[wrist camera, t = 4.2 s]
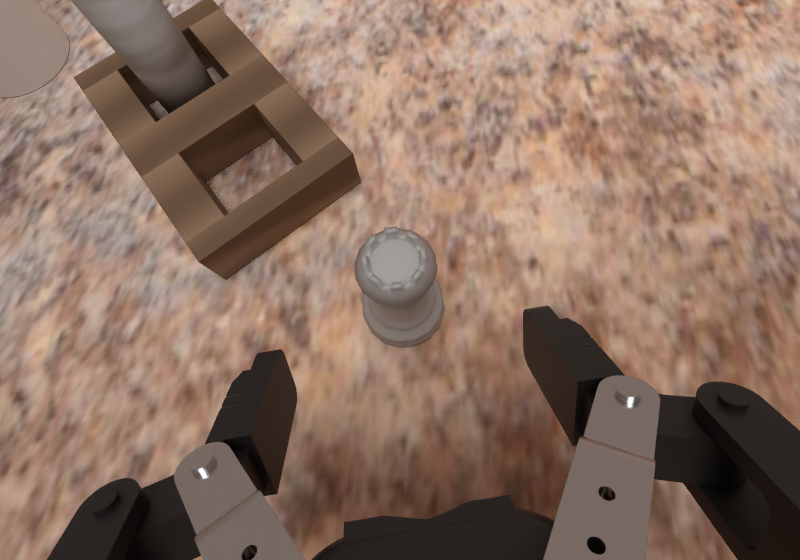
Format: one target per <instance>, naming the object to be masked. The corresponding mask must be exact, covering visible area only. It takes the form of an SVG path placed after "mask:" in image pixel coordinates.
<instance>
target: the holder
mask: <svg viewBox="0 0 800 560" xmlns="http://www.w3.org/2000/svg"><path fill="white" fill-rule="evenodd" d="M71 1H72V2H73V3H74V4H75V6H76V7H77V8H78V9H79V10H80V11H81V12H82V14H83V15H84V16H85V17H86V18H87V19H88V21H89V22H90V23H91V24H92V25H93V26H94V27H95V29H96V30H97V31H98V32H99V33H100V34H101V36H102V37H103V38H104V39H105V40H106V41H107V42H108V44H109V45H110V46H111V47H112V48H113V49H114V51H115V52H116V53H114V54H112V55H110V56H109V57H107V58H105V59H104V60H102V61H100V62H99V63H97V64H95V65H94V66H92V67H90V68H89V69H87V70H85V71H83V72H82V73H80V74H78V75H77V76H75V77H74V79H75V80H76V82H77V83H78V85H79V86H80V88H81V89H82V90H83V92H84V93H85V95H86V96H87V98H88V99H89V101H90V102H91V104H92V105H93V107H94V108H95V110H96V111H97V113H98V114H99V116H100V117H101V119H102V120H103V121H104V123H105V124H106V126H107V127H108V129H109V130H110V132H111V133H112V135H113V136H114V138H115V139H116V141H117V142H118V144H119V145H120V147H121V148H122V150H123V151H124V152H125V154H126V155H127V157H128V158H129V160H130V161H131V163H132V164H133V166H134V167H135V169H136V170H137V172H138V173H139V175H140V176H141V178H142V179H143V181H144V182H145V183H146V185H147V186H148V188H149V189H150V191H151V192H152V194H153V195H154V197H155V198H156V200H157V201H158V203H159V204H160V206H161V207H162V209H163V210H164V212H165V213H166V214H167V216H168V217H169V219H170V220H171V222H172V223H173V225H174V226H175V228H176V229H177V231H178V232H179V234H180V235H181V237H182V238H183V240H184V241H185V243H186V244H187V245H188V247H189V248H190V250H191V251H192V253H193V254H194V256H195V257H196V259H197V260H198V262H199V263H201V264H203V265H204V266H206V267H207V268H209V269H210V270H212V271H213V272H215V273H217V274H218V275H220V276H221V277H223V278H224V279H228V278H229V277H230V276H232V275H233V274H234V273H236V272H237V271H239V270H240V269H241V268H243V267H244V266H246V265H247V264H248V263H250V262H251V261H252V260H254V259H255V258H257V257H258V256H259V255H261V254H262V253H264V252H265V251H266V250H268V249H269V248H270V247H272V246H273V245H275V244H276V243H277V242H279V241H280V240H282V239H283V238H284V237H286V236H287V235H288V234H290V233H291V232H293V231H294V230H295V229H297V228H298V227H300V226H301V225H302V224H304V223H305V222H307V221H308V220H309V219H311V218H312V217H313V216H315V215H316V214H318V213H319V212H320V211H322V210H323V209H325V208H326V207H327V206H329V205H330V204H331V203H333V202H334V201H336V200H337V199H338V198H340V197H341V196H343V195H344V194H345V193H347V192H348V191H349V190H351V189H352V188H354V187H355V186H356V185H358V184H359V183H361V181H360V177H359V174H358V170H357V166H356V163H355V159H354V156H353V153H352V152H351V151H350V150H349V148H348V147H347V146H346V145H345V144H344V143H343V142H342V141H341V140H340V139H339V138H338V136H337V135H336V134H335V133H334V132H333V131H332V130H331V129H330V128H329V127H328V126H327V124H326V123H325V122H324V121H323V120H322V119H321V118H320V117H319V116H318V115H317V114H316V112H315V111H314V110H313V109H312V108H311V107H310V106H309V105H308V104H307V103H306V101H305V100H304V99H303V98H302V97H301V96H300V95H299V94H298V93H297V92H296V91H295V89H294V88H293V87H292V86H291V85H290V84H289V83H288V82H287V81H286V80H285V79H284V77H283V76H282V75H281V74H280V73H279V72H278V71H277V70H276V69H275V68H274V67H273V65H272V64H271V63H270V62H269V61H268V60H267V59H266V58H265V57H264V56H263V54H262V53H261V52H260V51H259V50H258V49H257V48H256V47H255V46H254V45H253V44H252V42H251V41H250V40H249V39H248V38H247V37H246V36H245V35H244V34H243V33H242V32H241V30H240V29H239V28H238V27H237V26H236V25H235V24H234V23H233V22H232V21H231V20H230V18H229V17H228V16H227V15H226V14H225V13H224V12H223V11H222V10H221V9H220V7H219V6H218V5H217V4H216V3H215V2H214V1H213V0H203V1H202V2H200V3H198V4H196V5H195V6H193V7H191V8H190V9H188V10H186V11H185V12H183V13H181V14H180V15H178V16H176V17H175V18H172V16H171V15H170V13H169V12H168V10H167V9H166V7H165V6H164V4H163V2H162V1H161V0H71ZM210 66H213V67H214V68H215V69H216V70H217V72H218V73H219V74H220V75H221V76H222V77H223V80H222V81H220V82H219V83H217V84H215V83H214V81H213V80H212V78H211V77H210V75H209V74H208V72H207V71H206V69H207V68H209V67H210ZM156 100H158V101H159V102H160V104H161V105H162V106H163V107H164V108H165V109H166V111H167V112H168V113H169V114H168V115H166V116H165V117H163V118H162V119H159V118H158V117H157V115H156V114H155V113H154V111H153V110H152V109H151V107H150V106H149V104H151V103H152V102H154V101H156ZM271 137H273V138H274V139H275V140H276V141H277V142H278V144H279V145H280V146H281V147H282V148H283V150H284V151H285V152H286V153H287V154H288V155H289V157H290V158H291V159H292V160H293V161H294V163H295V164H296V165H297V166H296V167H294V168H293V169H291V170H290V171H289V172H287V173H286V174H284V175H283V176H281V177H280V178H278V179H277V180H276V181H274V182H273V183H271V184H270V185H268V186H267V187H265V188H264V189H263V190H261V191H260V192H258V193H257V194H255V195H254V196H253V197H251V198H250V199H248V200H247V201H245V202H244V203H242V204H241V205H240V206H238V207H237V208H235V209H234V210H232V211H231V212H229V213H228V211H227V210H226V209H225V207H224V206H223V205H222V203H221V202H220V200H219V199H218V198H217V196H216V195H215V194H214V192H213V191H212V190H211V188H210V187H209V186H208V184H207V183H206V182H205V181H207V180H208V179H210V178H211V177H213V176H214V175H216V174H217V173H219V172H220V171H222V170H223V169H225V168H226V167H228V166H229V165H231V164H232V163H234V162H235V161H237V160H238V159H240V158H241V157H243V156H244V155H246V154H247V153H248V152H250V151H251V150H253V149H254V148H256V147H257V146H259V145H260V144H262V143H263V142H265V141H266V140H268V139H269V138H271Z"/></svg>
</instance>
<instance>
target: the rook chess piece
mask: <svg viewBox="0 0 800 560" xmlns="http://www.w3.org/2000/svg"><path fill="white" fill-rule="evenodd" d="M354 264H355V278H356V281H357V282H358V284H359V286H360V288H361V290H362V292H363V293H364V295H363V298H362V303H363V315H364V319H365V320H366V322H367V324H368V326H369V328H370V330H371V332H372V333H373V334H374V335H376V336H377V337H378V338H379V339H381V340H382V341H383V342H384V343H388V344H391V345H395V346H398V347H403V346H412V345H417V344H419V343H421V342H422V341H424V340H426V339H428V338H430V337H431V335H432V334H433V333H434V332H435V330H436V329H437V328H438V327H439V325H440V323H441V319H442V316H443V312H444V304H443V297H442V290H441V288H440V287H439V285H438V283H437V282H436V280H435V276H436V272H437V263H436V256H435V253H434V251H433V250H432V248H431V246H430V245H429V243H428V242H427V241H426V240H425V239H424V238H422V237H421V236H419V235H418V234H417V233H415V232H412V231H411V230H409V231H408V230H404V229H400V228H398V229H397V227H390V228H384V230H383V231H381V232H379V233H377V234H375V235H373V234H372V235H371V237H370V238H369V239H368V240H367V241H366V242H365V243H364V245H363V246H362V247H361V248H360V249H359V252H358V255H357V258H356V261H355V263H354Z"/></svg>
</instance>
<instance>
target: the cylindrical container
mask: <svg viewBox="0 0 800 560" xmlns="http://www.w3.org/2000/svg"><path fill="white" fill-rule="evenodd" d="M68 54H69V41H68V37H67V36H66V34H65V33H64V31H63V30H62V29H61V28H60V27H59V26H58V25H57V24H56V23H55V22H54V21H53V20H52V19H51V18H50V17H49V16H48V15H47V14H46V13H45V12H44V10H43V9H42V8H41V7H40V6H39V5H38V4H37V3H36V2H35V1H34V0H0V97H8V98H9V97H17V96H21V95H24V94H28V93H30V92H32V91H35V90H37V89H38V88H40V87H42V86H44V85H45V84H46V83H48V82H49V81H50V80H51V79H53V78H54V77H55V76H56V75H57V74H58V72H59V71H60V70H61V69H62V67H63V66H64V64H65V62H66V60H67V57H68Z"/></svg>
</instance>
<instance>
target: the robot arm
mask: <svg viewBox="0 0 800 560" xmlns="http://www.w3.org/2000/svg"><path fill="white" fill-rule="evenodd" d="M523 349H524V356H525V359H526V362H527V365H528V367H529V369H530V371H531V372H532V374H533V376H534V378H535V379H536V381H537V383H538V385H539V387H540V388H541V390H542V392H543V394H544V395H545V397H546V399H547V401H548V403H549V404H550V406H551V408H552V410H553V411H554V413H555V415H556V417H557V419H558V420H559V422H560V424H561V426H562V427H563V429H564V431H565V433H566V434H567V436H568V438H569V440H570V442H571V443H572V445H573V446H575V445H577V448H576V451H575V454H574V458H573V461H572V465H571V468H570V471H569V475H568V478H567V481H566V485H565V488H564V491H563V495H562V498H561V502H560V505H559V508H558V512H557V515H556V518H555V521H554V520H552V519H550V518H548V517H545V516H543V515H541V514H538V513H535V512H531V511H527V510H522V509H515V507H514V504H513V501H512V499H511V496H510V495H506V496H500V497H494V498H488V499H482V500H476V501H470V502H468V503H465V504H463V505H461V506H459V507H456V508H454V509H452V510H450V511H448V512H445V513H443V514H441V515H439V516H436V517H434V518H432V519H414V518H404V517H394V516H380V517H374V518H368V519H362V520H356V521H350V522H344V537H343V538H341V539H339V540H337V541H335V542H334V543H332V544H330V545H329V546H327V547H326V548H325V549H323V550H322V551H321V552H319V553H318V554H317V555H316V556H315V557H314V558H313V559H312V560H645V557H646V547H647V538H648V528H649V519H650V510H651V500H652V491H653V482H654V479H659V480H666V481H674V482H682V483H684V485H685V486H686V488H687V489H688V490H689V492H690V493H691V495H692V496H693V497H694V499H695V500H696V502H697V503H698V504H699V506H700V507H701V509H702V510H703V511H704V513H705V514H706V516H707V517H708V519H709V520H710V521H711V523H712V524H713V526H714V527H715V528H716V530H717V531H718V533H719V534H720V535H721V537H722V538H723V540H724V541H725V542H726V544H727V545H728V547H729V548H730V550H731V551H732V552H733V554H734V555H735V557H736V558H737V559H738V560H800V431H799V430H798V429H797V428H796V427H795V426H794V425H792V424H791V423H790V422H789V421H788V420H787V419H786V418H785V417H783V416H782V415H781V414H780V413H779V412H778V411H777V410H775V409H774V408H773V407H772V406H771V405H770V404H769V403H767V402H766V401H765V400H764V399H763V398H762V397H760V396H759V395H758V394H756V393H754V392H753V391H751V390H749V389H747V388H744V387H742V386H739V385H736V384H732V383H726V382H709V383H705V384H703V385H701V386H700V387H699V388H698V390H697V392H696V396H695V397H685V396H671V395H662V394H658V393H657V391H656V390H655V389H654V388H653V387H652V386H650V385H649V384H647V383H646V382H644V381H642V380H640V379H637V378H634V377H630V376H625V375H624V374H623V373H622V372H621V370H620V369H619V368H618V367H617V366H616V365H615V364H614V362H613V361H612V360H611V359H610V358H609V357H608V356H607V354H606V353H605V352H604V351H603V350H602V349H601V348H600V346H599V347H598V344H597V343H596V342H595V341H594V340H593V338H591V337H590V335H589V334H588V333H587V332H586V330H585V329H584V328H583V327H582V326H581V325H579V324H577V323H576V322H574V321H572V320H570V319H568V318H564V319H559V318H558V317H557V315H556V314H555V313H554V312H553V310H552V309H551V308H550V307H549V306H543V307H537V308H531V309H525V310H524V312H523ZM226 396H227V398H225V400H224V402H223V404H222V408H221V409H220V411H219V413H218V416H217V418H216V420H215V422H214V425H213V427H212V429H211V431H210V434H209V436H208V438H207V440H206V443H205V445H203V446H201V447H199V448H197V449H195V450H194V451H192V452H191V453H190V454H188V455H187V456H186V457H185V458H184V459H183V460H182V462H181V463H180V464H179V466H178V467H177V469H176V472H175V474H174V475H172V476H170V477H168V478H166V479H163V480H161V481H159V482H156V483H154V484H152V485H149V486H147V487H144V488H142V489H141V487H140V486H139V484H138V483H137V482H136V481H135V480H134V479H130V478H124V479H119V480H116V481H113V482H110V483H108V484H106V485H105V486H103V487H101V488H100V489H98V490H97V491H95V492H94V493H93V494H92V495H91V496H89V497H88V498H87V499H86V500H85V501H84V502H83V504H82V505H81V506H80V507H79V509H78V510H77V512H76V513H75V515H74V517H73V518H72V520H71V521H70V523H69V525H68V526H67V528H66V530H65V531H64V533H63V534H62V536H61V538H60V539H59V541H58V543H57V544H56V546H55V547H54V549H53V551H52V552H51V554H50V556H49V557H48V559H47V560H193V559H195V558H197V557H199V556H201V557H202V559H203V560H305V559H304V557H303V556H302V554H301V553H300V551H299V550H298V548H297V547H296V545H295V543H294V542H293V540H292V539H291V537H290V536H289V534H288V533H287V531H286V530H285V528H284V526H283V525H282V523H281V522H280V520H279V519H278V517H277V516H276V514H275V513H274V511H273V509H272V508H271V506H270V505H269V503H268V502H267V500H266V499H265V497H264V496H267V495H273V494H277V493H278V488H279V483H280V479H281V474H282V469H283V465H284V460H285V455H286V451H287V446H288V441H289V437H290V432H291V427H292V423H293V418H294V414H295V409H296V404H297V392H296V386H295V383H294V380H293V377H292V374H291V371H290V369H289V366H288V363H287V360H286V357H285V354H284V352H283V351H282V350H281V349H280V350H274V351H268V352H262V353H258V354H257V355H256V357H255V359H254V362H253V364H252V367H251V369H250V370H247V371H243V372H242V373H241V374H240V375H239V376H238V377H237V378H236V379H235V380H234V381H233V382H232V384H231V386H230V389H229V391H228V393H227V395H226Z"/></svg>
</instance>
